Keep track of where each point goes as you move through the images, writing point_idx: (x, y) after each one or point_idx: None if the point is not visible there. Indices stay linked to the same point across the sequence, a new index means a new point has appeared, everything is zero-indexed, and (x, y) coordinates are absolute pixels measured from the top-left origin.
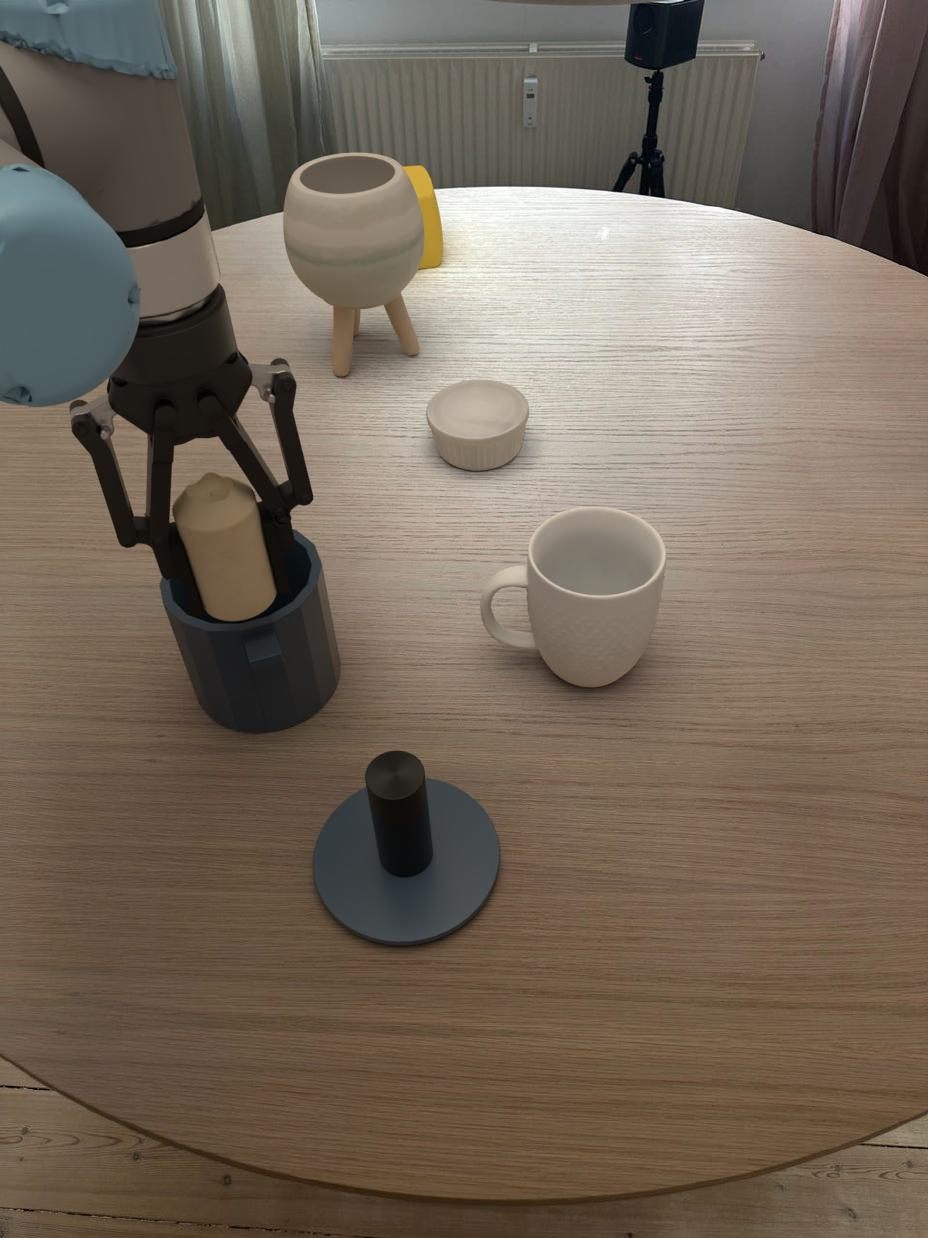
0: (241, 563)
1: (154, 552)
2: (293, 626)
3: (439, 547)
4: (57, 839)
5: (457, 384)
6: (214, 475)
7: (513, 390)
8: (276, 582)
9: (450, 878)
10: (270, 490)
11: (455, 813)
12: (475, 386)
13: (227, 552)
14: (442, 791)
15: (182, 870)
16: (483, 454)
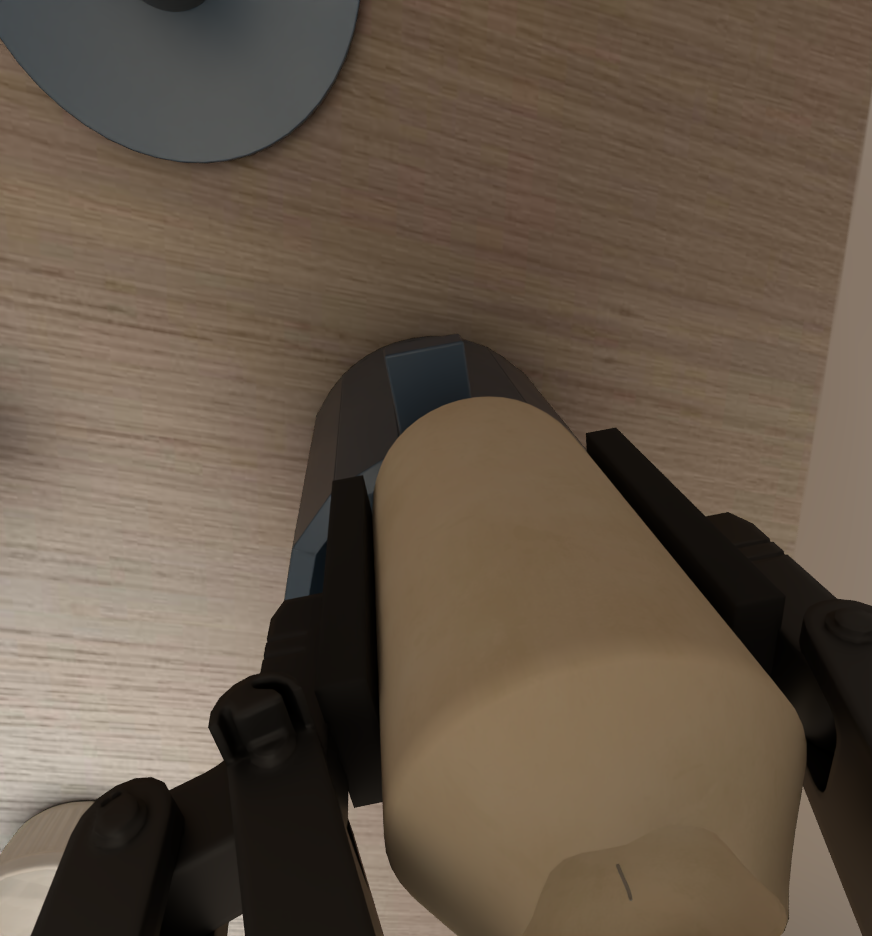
0: (475, 517)
1: (825, 593)
2: (357, 453)
3: (147, 669)
4: (788, 175)
5: None
6: None
7: None
8: (370, 514)
9: None
10: (278, 900)
11: (58, 31)
12: None
13: (539, 551)
14: (93, 103)
15: (602, 50)
16: (61, 832)
